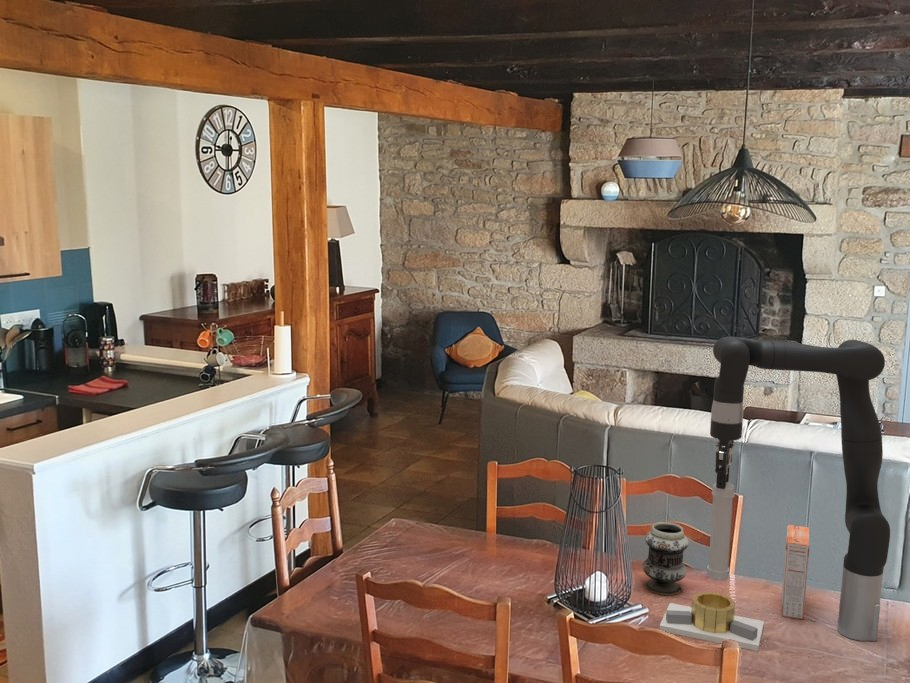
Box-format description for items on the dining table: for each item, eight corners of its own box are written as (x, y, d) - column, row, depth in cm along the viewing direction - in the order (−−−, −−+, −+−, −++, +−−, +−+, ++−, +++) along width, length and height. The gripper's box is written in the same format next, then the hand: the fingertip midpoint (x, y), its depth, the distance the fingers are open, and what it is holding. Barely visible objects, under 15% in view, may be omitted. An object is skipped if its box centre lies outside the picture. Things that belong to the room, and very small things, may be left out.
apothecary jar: (682, 600, 251) (686, 538, 248) (637, 592, 255) (641, 531, 252) (688, 583, 262) (692, 523, 259) (645, 576, 266) (649, 516, 263)
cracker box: (781, 595, 255) (787, 523, 252) (804, 598, 253) (810, 526, 250) (779, 616, 242) (785, 541, 239) (804, 620, 240) (810, 545, 237)
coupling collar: (735, 618, 237) (737, 597, 236) (730, 636, 228) (732, 613, 227) (694, 610, 241) (696, 589, 240) (688, 627, 232) (689, 605, 231)
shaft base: (763, 626, 237) (764, 612, 236) (758, 651, 224) (759, 636, 223) (669, 608, 246) (670, 594, 245) (659, 630, 233) (660, 616, 233)
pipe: (729, 582, 229) (737, 467, 224) (703, 580, 230) (711, 465, 225) (728, 573, 235) (735, 460, 229) (702, 571, 236) (709, 458, 231)
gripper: (739, 427, 218) (734, 495, 220) (746, 413, 231) (741, 478, 233) (706, 423, 221) (702, 491, 223) (715, 410, 234) (711, 474, 236)
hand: (722, 484), depth 228 cm, fingers closed on pipe, 5 cm apart
